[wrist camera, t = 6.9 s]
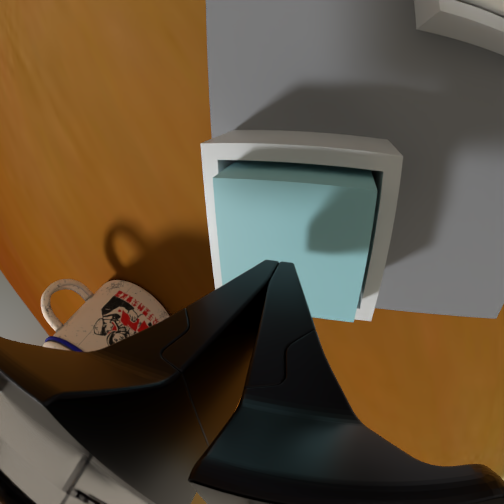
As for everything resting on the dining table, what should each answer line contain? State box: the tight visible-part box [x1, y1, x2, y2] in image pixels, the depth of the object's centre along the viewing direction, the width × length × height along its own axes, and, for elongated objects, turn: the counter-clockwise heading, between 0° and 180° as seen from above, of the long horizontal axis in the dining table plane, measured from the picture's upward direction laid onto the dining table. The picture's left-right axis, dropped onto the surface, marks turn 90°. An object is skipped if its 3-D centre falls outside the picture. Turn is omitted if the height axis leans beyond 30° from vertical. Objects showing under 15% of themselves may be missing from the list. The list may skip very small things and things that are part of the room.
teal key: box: [213, 160, 377, 322], centre depth 11 cm, size 5×5×3 cm
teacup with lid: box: [41, 279, 170, 352], centre depth 22 cm, size 12×9×12 cm
